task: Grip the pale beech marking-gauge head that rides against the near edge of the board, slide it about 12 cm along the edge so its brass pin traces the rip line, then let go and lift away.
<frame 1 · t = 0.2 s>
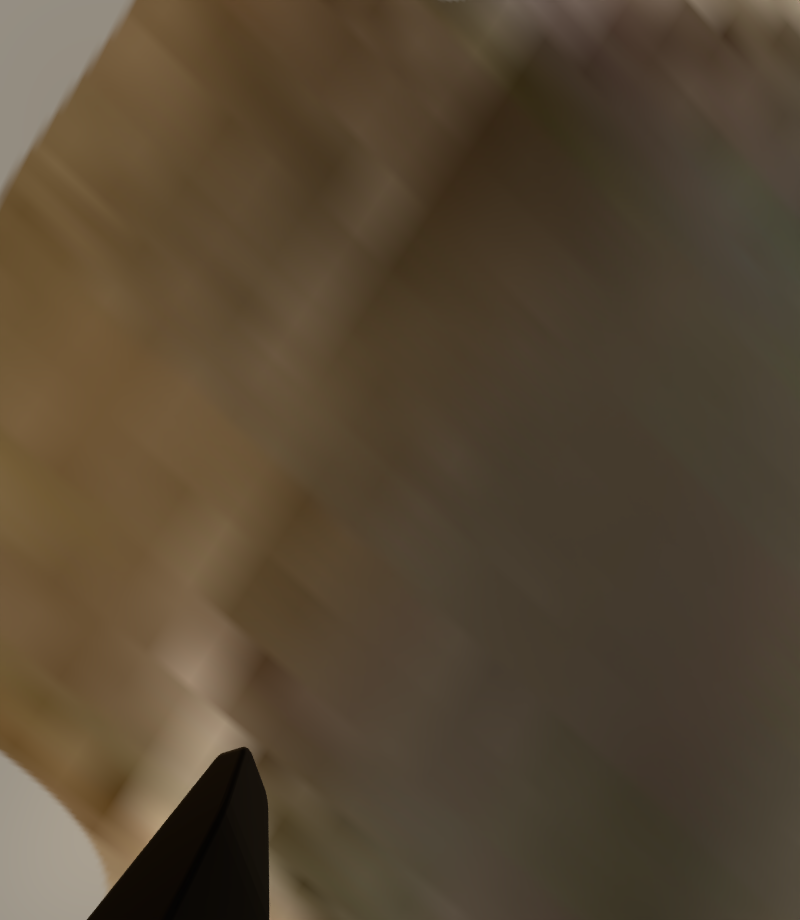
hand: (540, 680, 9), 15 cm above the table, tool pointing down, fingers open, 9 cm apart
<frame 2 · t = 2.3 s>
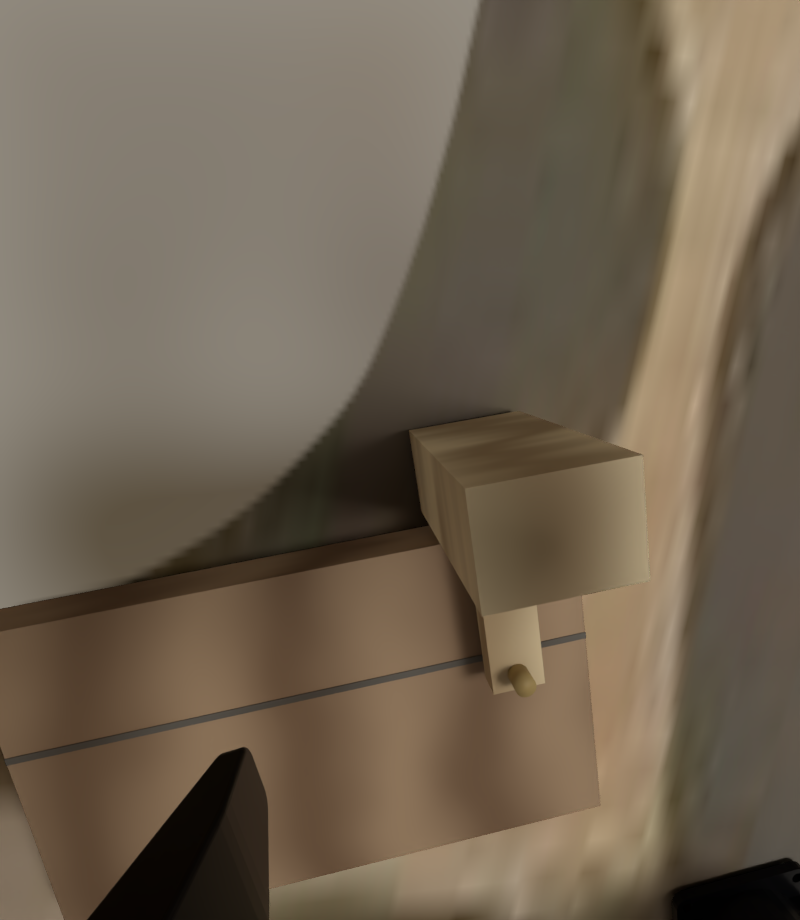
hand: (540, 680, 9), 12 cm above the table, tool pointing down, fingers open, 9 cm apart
gauge: (515, 581, 17), point 4 cm above the table, slide at 0.0 cm
board: (318, 697, 22), on the table
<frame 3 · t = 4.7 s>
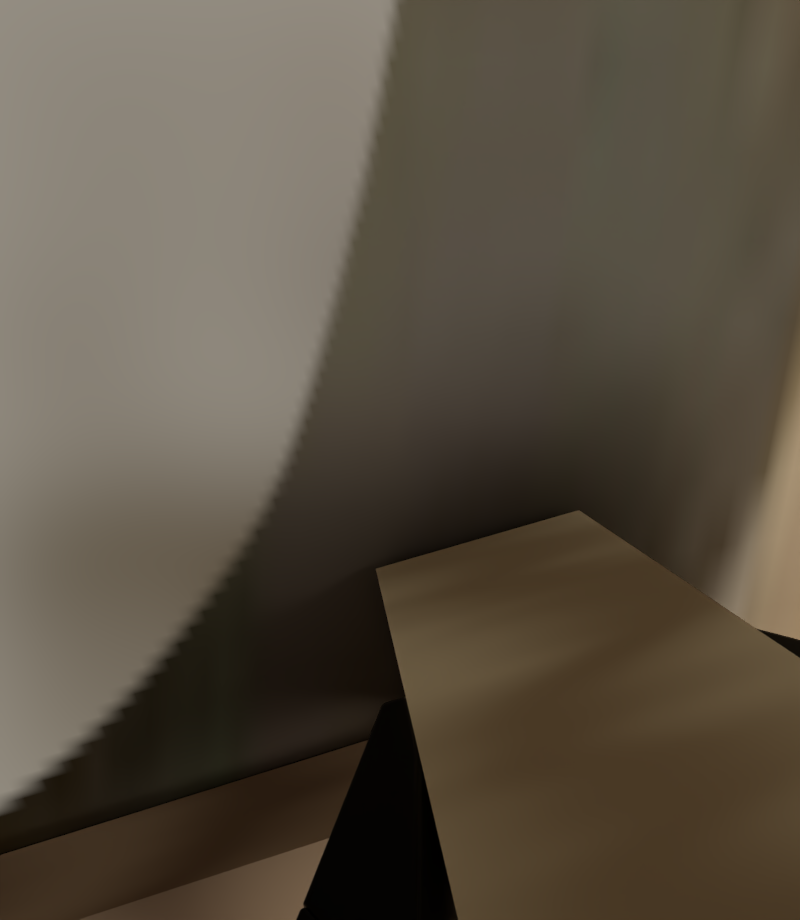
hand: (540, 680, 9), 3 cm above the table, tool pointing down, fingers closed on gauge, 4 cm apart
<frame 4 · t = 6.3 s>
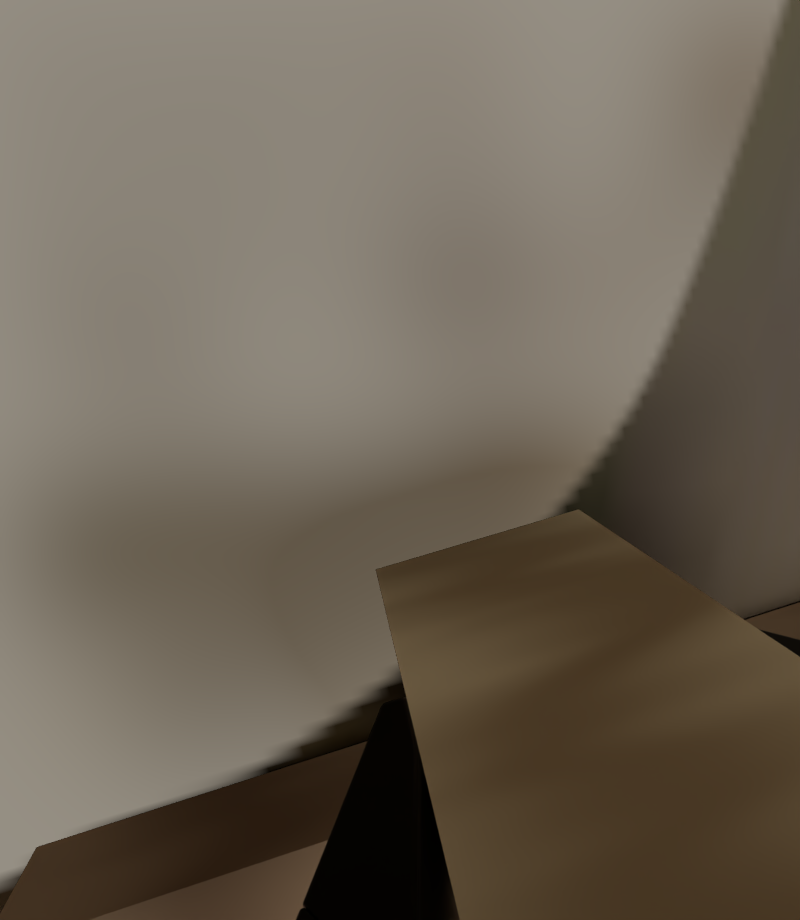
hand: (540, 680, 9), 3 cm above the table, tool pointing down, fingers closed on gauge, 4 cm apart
board: (570, 906, 13), on the table
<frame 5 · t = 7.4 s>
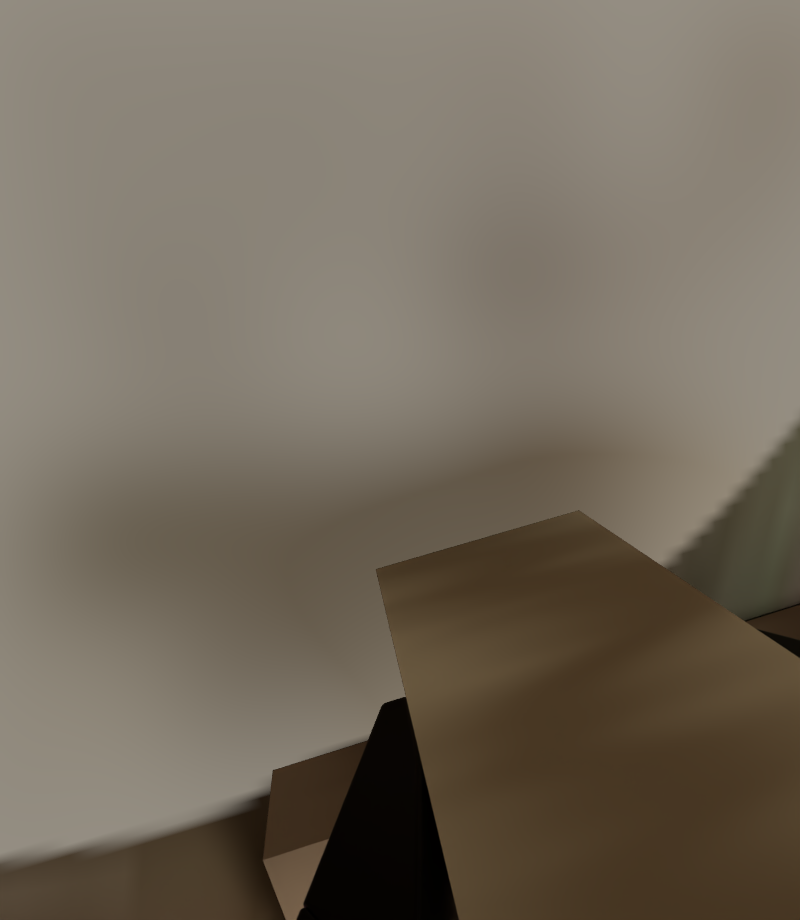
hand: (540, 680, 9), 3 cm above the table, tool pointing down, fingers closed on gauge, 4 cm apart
board: (752, 843, 13), on the table
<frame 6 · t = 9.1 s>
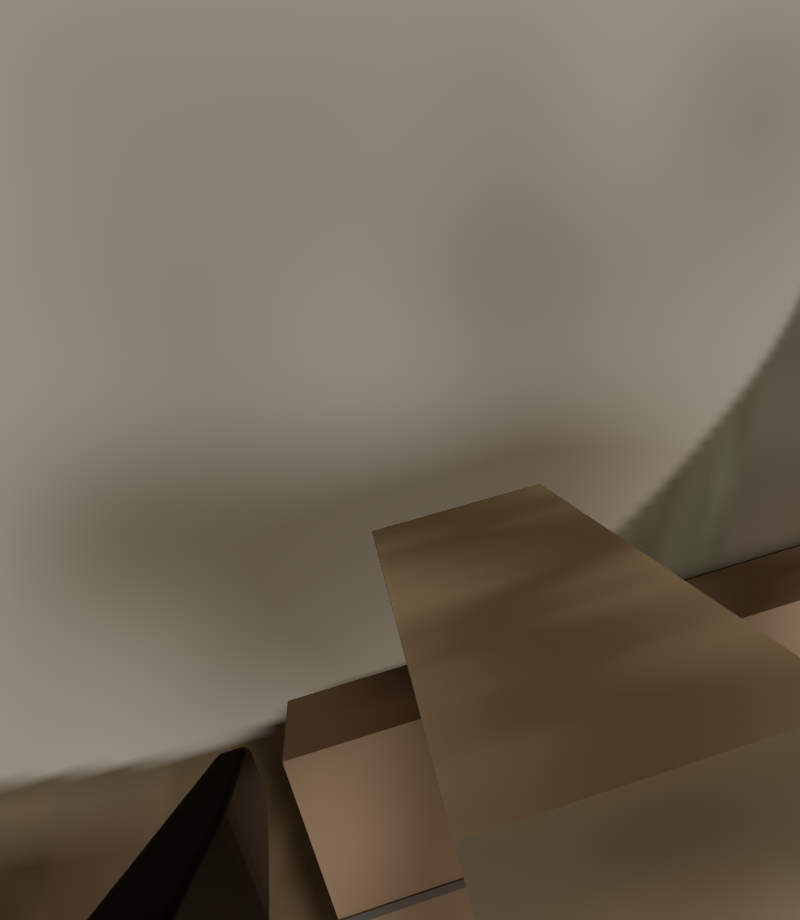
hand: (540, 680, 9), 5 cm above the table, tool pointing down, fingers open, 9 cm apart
gauge: (563, 802, 10), point 4 cm above the table, slide at 12.0 cm
board: (696, 774, 16), on the table
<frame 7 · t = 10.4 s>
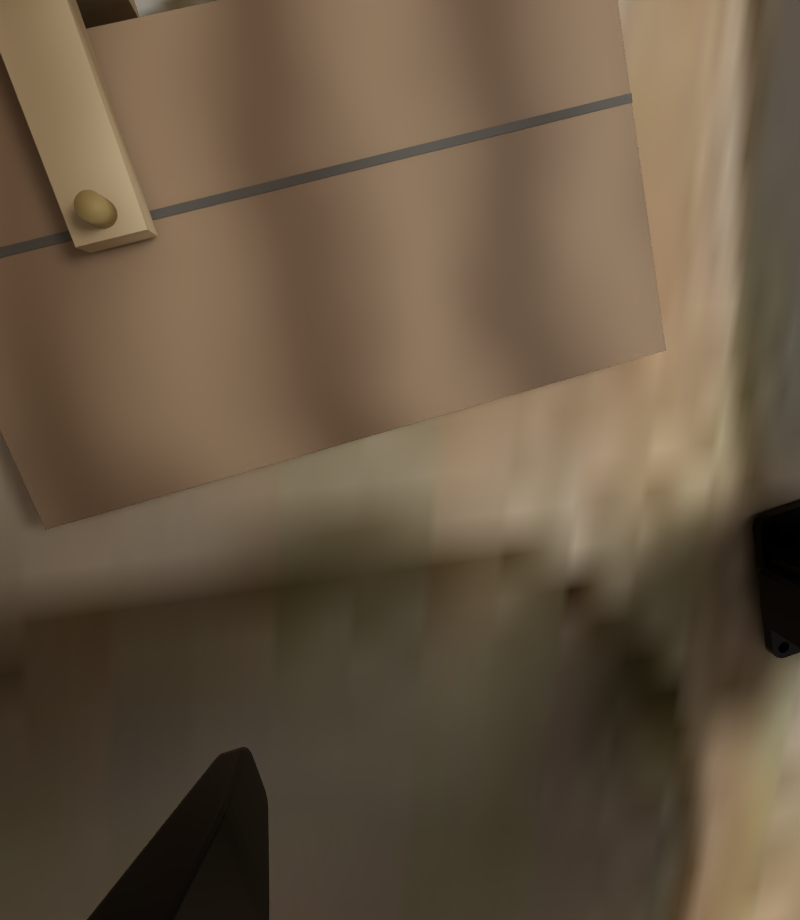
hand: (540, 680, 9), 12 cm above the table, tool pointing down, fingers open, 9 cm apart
gauge: (16, 17, 12), point 4 cm above the table, slide at 12.0 cm
board: (314, 246, 18), on the table
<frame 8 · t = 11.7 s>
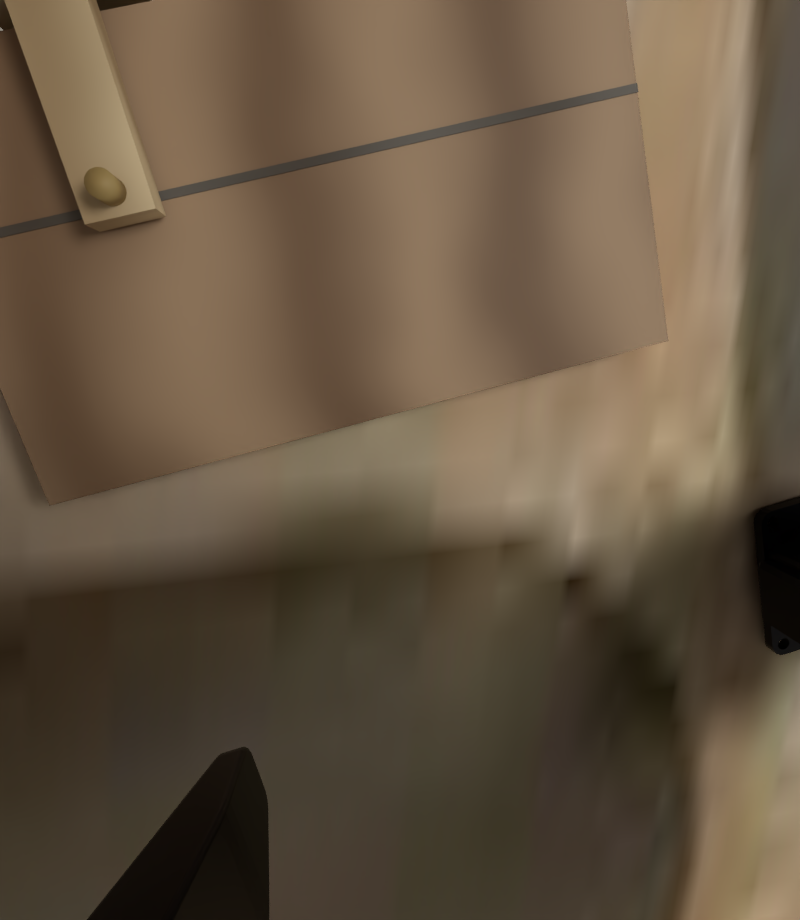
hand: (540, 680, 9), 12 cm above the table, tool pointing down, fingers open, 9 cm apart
board: (320, 231, 18), on the table
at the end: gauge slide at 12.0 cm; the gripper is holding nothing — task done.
